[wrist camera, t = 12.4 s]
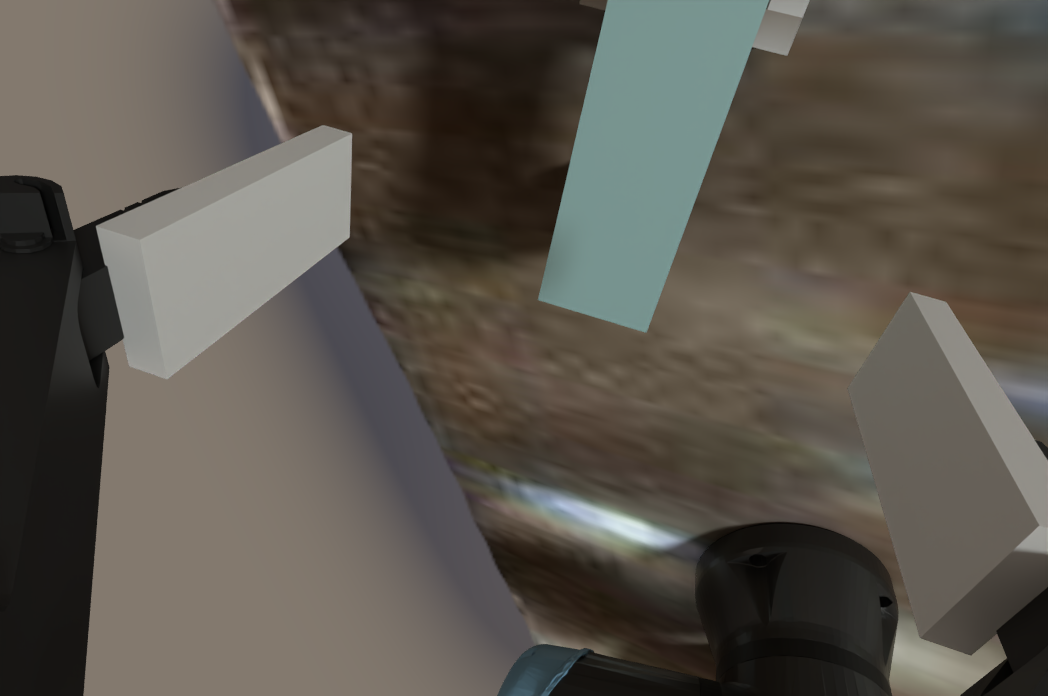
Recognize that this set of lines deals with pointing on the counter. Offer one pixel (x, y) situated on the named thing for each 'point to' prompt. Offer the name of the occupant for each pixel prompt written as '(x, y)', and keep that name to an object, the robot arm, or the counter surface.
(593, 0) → the post
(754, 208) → the counter surface
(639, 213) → the rail
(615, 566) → the counter surface
